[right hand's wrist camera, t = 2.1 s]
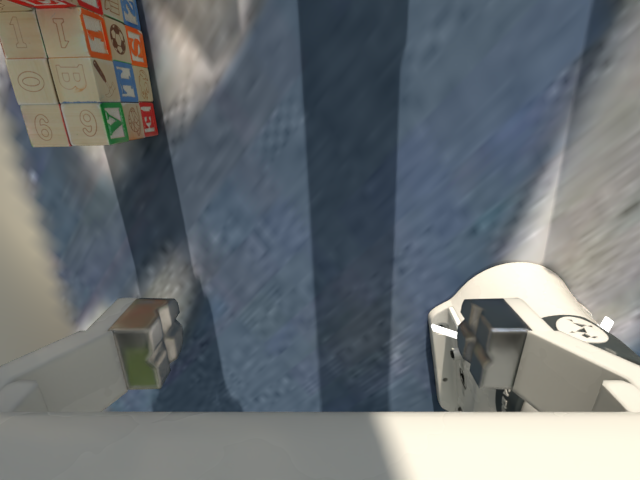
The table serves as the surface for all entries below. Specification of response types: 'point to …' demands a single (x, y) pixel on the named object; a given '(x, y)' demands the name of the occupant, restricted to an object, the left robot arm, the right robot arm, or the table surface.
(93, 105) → the stack of blocks
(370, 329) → the table surface
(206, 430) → the right robot arm
